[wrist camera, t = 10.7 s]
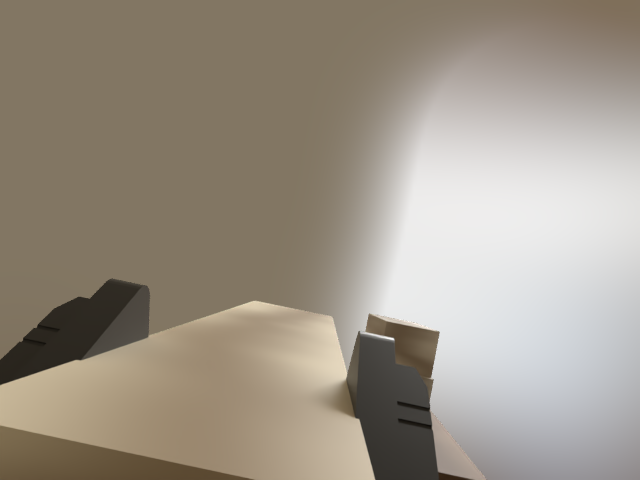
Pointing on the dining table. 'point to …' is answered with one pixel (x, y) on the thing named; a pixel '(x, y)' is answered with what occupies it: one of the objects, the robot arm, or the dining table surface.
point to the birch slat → (193, 406)
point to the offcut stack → (409, 343)
